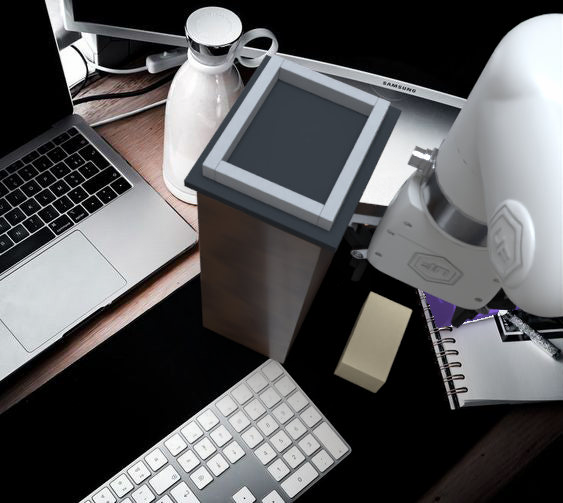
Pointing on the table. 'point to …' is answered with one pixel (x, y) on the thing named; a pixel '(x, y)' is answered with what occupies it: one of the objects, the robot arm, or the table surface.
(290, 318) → the riser
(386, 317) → the beige rectangular block
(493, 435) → the table surface
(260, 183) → the base pad
